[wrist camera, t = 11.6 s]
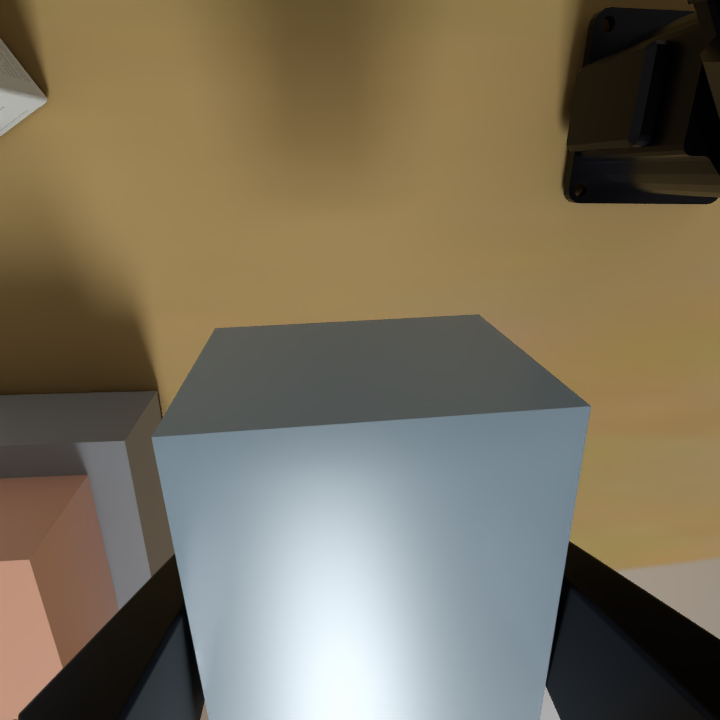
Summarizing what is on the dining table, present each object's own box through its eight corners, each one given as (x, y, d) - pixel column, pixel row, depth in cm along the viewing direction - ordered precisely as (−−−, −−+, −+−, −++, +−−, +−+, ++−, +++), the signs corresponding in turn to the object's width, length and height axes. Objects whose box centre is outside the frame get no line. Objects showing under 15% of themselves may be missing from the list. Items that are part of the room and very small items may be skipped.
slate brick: (478, 314, 9) (591, 406, 6) (460, 590, 12) (530, 778, 8) (215, 328, 9) (151, 437, 5) (253, 611, 12) (229, 820, 8)
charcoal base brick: (157, 390, 21) (124, 440, 17) (185, 569, 24) (164, 642, 21) (-47, 396, 20) (-126, 450, 16) (16, 580, 24) (-38, 658, 20)
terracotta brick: (87, 474, 17) (29, 559, 14) (120, 616, 20) (78, 720, 16) (-64, 481, 17) (-167, 571, 13) (-10, 625, 20) (-83, 734, 16)
